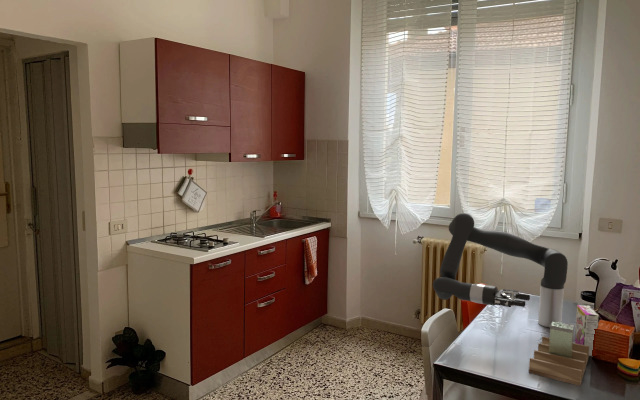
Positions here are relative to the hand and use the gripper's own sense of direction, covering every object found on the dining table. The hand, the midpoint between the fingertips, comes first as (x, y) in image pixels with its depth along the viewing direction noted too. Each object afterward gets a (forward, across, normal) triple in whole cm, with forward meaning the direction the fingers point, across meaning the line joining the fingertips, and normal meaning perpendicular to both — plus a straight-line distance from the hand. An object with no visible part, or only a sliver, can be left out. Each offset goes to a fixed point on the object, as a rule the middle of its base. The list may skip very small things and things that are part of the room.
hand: (527, 300), depth 184 cm
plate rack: (+12, -5, +21) cm, 25 cm away
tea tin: (+12, -5, +20) cm, 24 cm away
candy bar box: (+18, +15, +21) cm, 32 cm away
